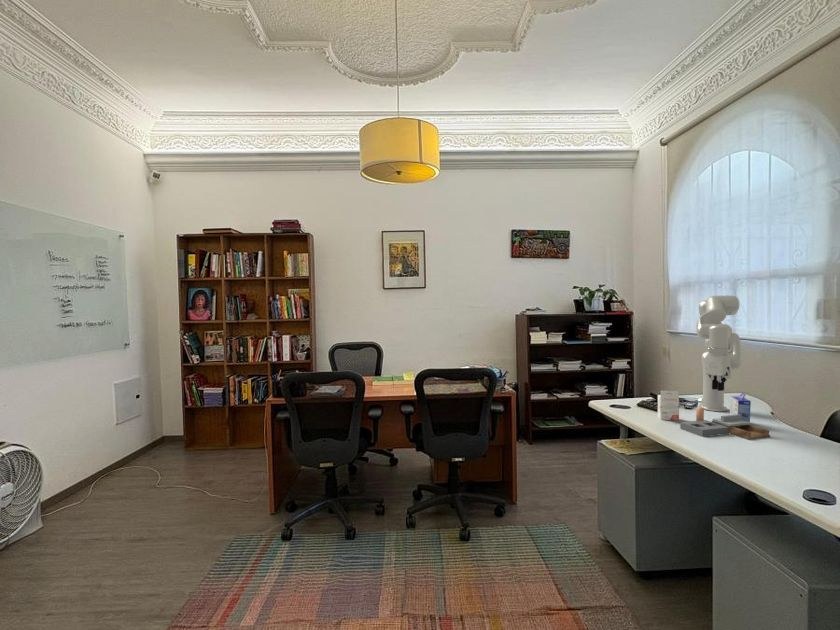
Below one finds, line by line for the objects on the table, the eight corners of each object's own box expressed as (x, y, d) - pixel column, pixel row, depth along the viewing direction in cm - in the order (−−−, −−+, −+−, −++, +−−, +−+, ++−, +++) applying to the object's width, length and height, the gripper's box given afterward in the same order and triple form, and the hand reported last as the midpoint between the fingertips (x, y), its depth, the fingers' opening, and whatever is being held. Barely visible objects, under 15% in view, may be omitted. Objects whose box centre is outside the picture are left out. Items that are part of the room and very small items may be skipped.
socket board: (680, 428, 200) (680, 422, 200) (705, 426, 203) (705, 420, 203) (702, 436, 189) (702, 429, 188) (728, 434, 192) (728, 427, 191)
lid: (712, 420, 201) (712, 413, 201) (732, 419, 203) (732, 412, 203) (730, 426, 192) (730, 418, 192) (750, 424, 195) (750, 417, 194)
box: (710, 427, 202) (710, 421, 201) (731, 425, 204) (731, 419, 204) (747, 439, 184) (747, 432, 184) (769, 437, 187) (770, 430, 186)
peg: (694, 423, 207) (694, 407, 207) (699, 423, 208) (700, 407, 208) (699, 425, 204) (700, 409, 204) (705, 425, 205) (705, 408, 205)
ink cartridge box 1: (675, 418, 218) (676, 389, 217) (679, 420, 213) (679, 391, 212) (657, 417, 220) (657, 388, 219) (660, 419, 215) (660, 390, 214)
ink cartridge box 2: (751, 426, 202) (751, 396, 201) (737, 425, 204) (737, 395, 203) (742, 420, 211) (742, 391, 211) (729, 420, 213) (729, 391, 213)
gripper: (697, 349, 210) (697, 387, 211) (727, 353, 195) (726, 394, 196) (710, 349, 212) (709, 386, 213) (740, 353, 196) (740, 393, 197)
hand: (718, 389), depth 204 cm, fingers closed
